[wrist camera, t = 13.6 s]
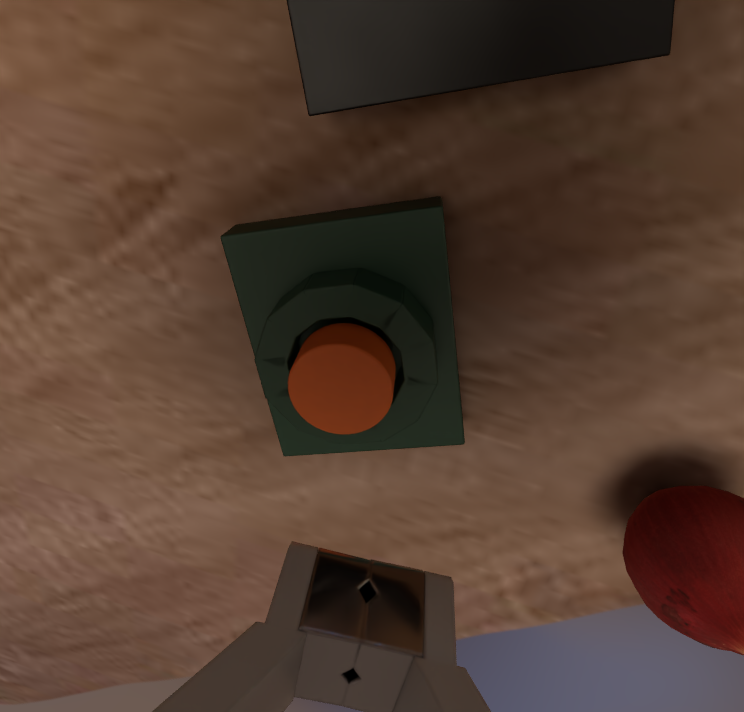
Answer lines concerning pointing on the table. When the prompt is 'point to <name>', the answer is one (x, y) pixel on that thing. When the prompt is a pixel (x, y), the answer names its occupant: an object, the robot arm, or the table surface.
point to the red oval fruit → (691, 562)
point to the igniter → (354, 314)
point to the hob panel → (461, 44)
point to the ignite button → (343, 379)
